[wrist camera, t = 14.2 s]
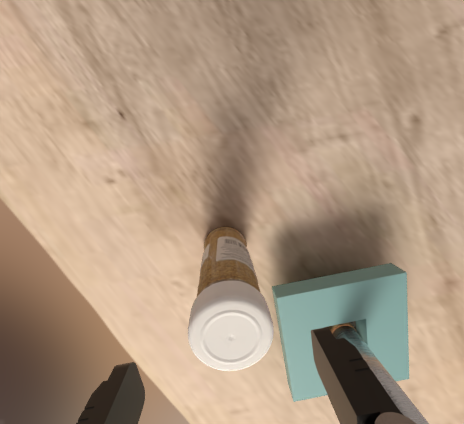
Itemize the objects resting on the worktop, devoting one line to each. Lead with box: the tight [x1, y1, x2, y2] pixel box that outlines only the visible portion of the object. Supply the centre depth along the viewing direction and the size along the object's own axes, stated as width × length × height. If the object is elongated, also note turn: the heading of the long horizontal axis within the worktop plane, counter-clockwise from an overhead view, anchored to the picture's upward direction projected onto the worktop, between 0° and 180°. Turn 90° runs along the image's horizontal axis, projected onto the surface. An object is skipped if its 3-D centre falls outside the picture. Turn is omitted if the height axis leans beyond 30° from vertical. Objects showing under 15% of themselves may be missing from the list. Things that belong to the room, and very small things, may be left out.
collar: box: [272, 263, 409, 402], centre depth 24 cm, size 12×12×2 cm
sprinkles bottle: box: [188, 227, 273, 371], centre depth 19 cm, size 5×5×14 cm
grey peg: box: [324, 321, 429, 424], centre depth 21 cm, size 6×6×14 cm
